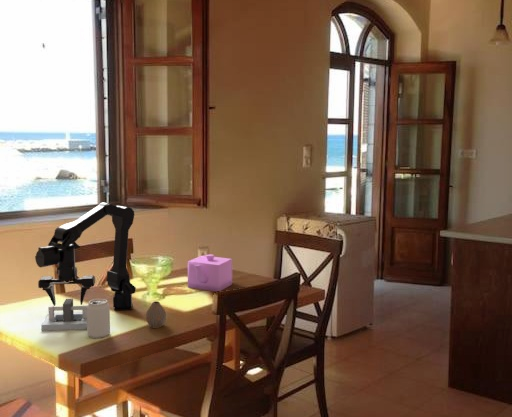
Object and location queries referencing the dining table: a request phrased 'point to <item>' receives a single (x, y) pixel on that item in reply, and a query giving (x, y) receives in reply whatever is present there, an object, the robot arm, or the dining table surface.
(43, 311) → the dining table surface
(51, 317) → the square frame
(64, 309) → the tall grey upright block
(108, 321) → the can
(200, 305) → the dining table surface
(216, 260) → the pink knobbed box
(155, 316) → the vase
